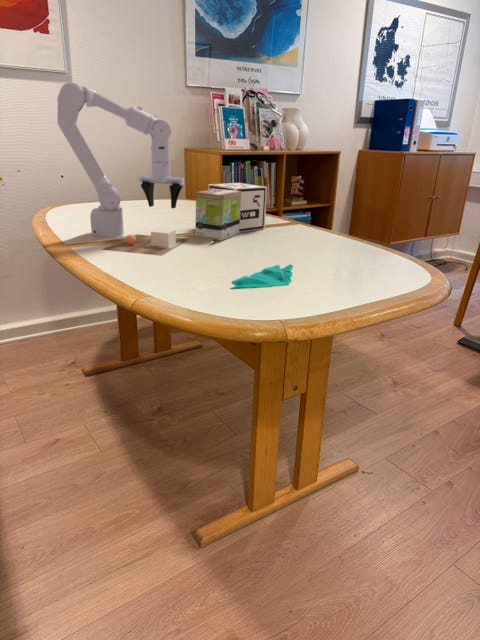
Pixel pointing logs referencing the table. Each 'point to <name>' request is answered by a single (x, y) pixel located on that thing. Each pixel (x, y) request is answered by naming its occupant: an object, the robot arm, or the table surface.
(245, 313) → the table surface
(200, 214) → the tea box
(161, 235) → the cream cube
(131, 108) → the robot arm
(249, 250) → the table surface
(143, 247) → the board
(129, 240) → the orange ball
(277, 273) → the cloth
